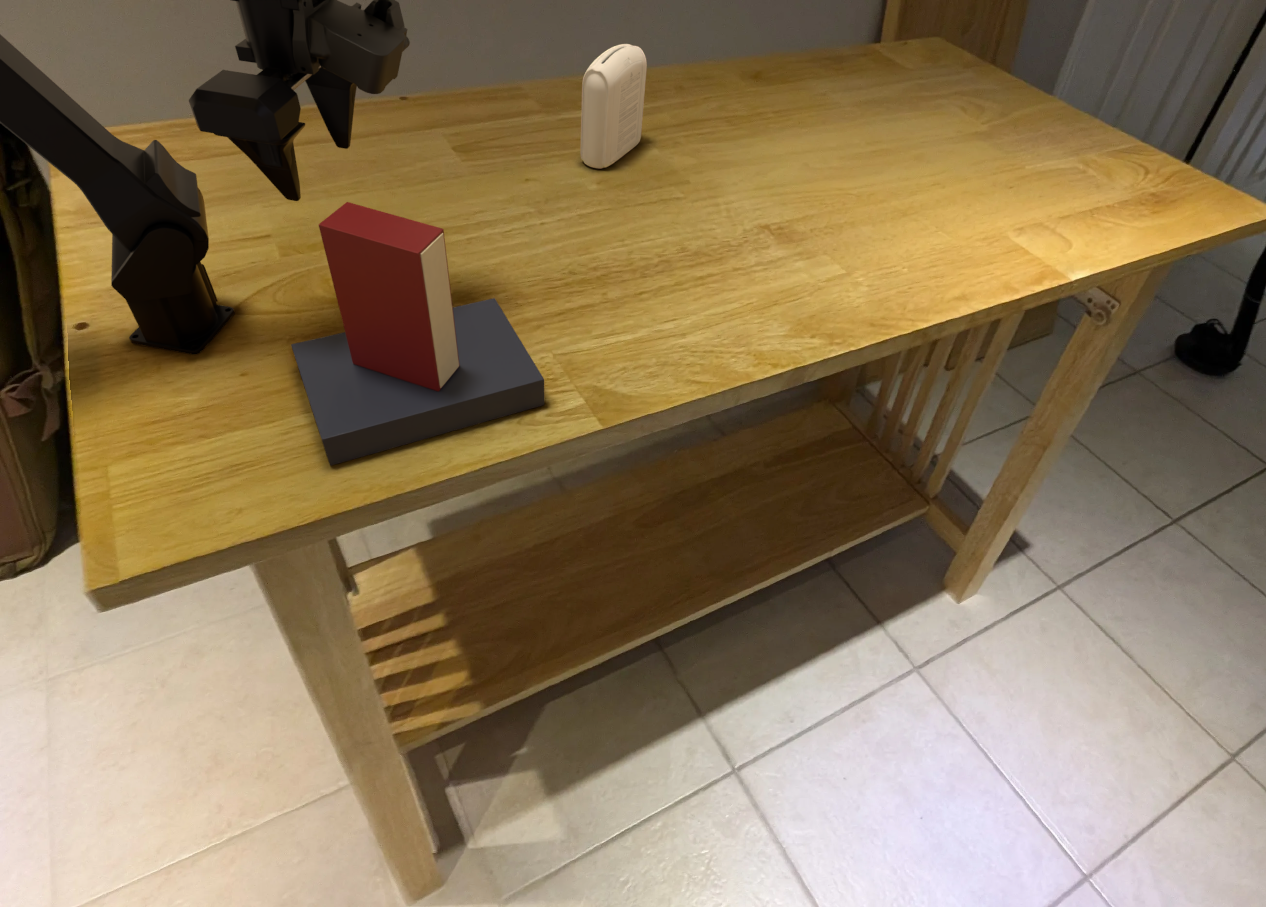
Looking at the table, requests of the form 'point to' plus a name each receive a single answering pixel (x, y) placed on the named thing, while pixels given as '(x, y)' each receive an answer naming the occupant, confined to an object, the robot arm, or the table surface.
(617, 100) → the photo printer
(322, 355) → the dark gray flat block
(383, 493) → the table surface
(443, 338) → the small book
